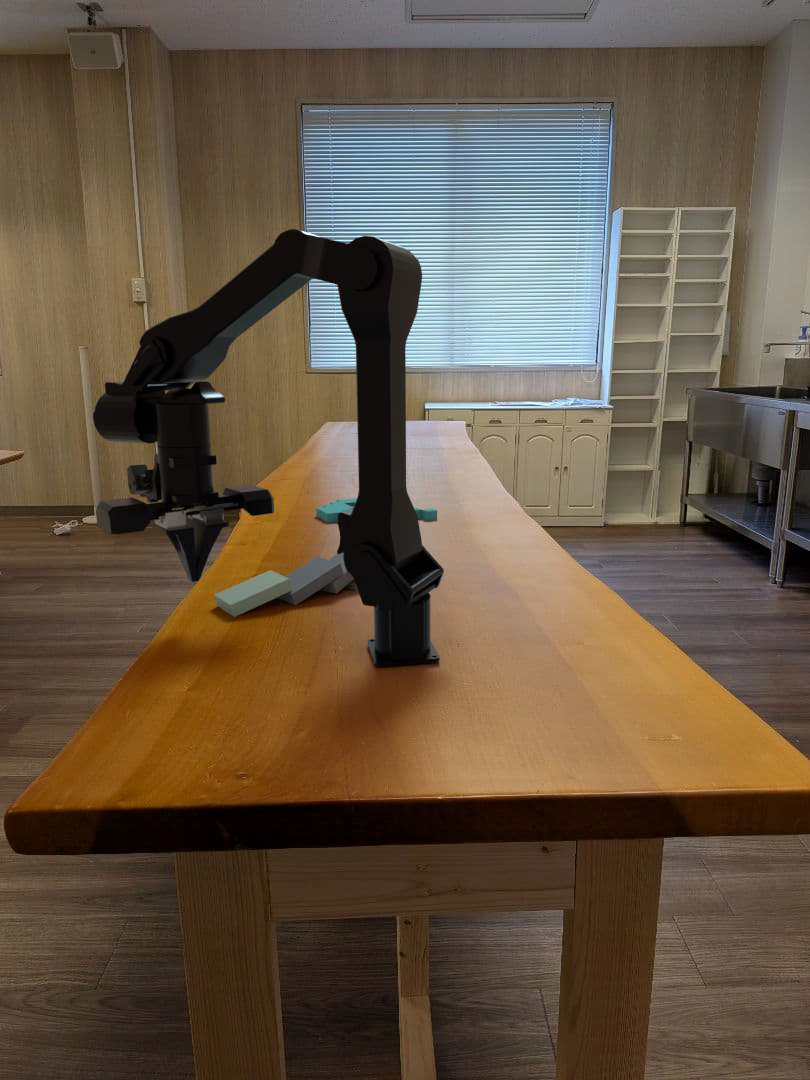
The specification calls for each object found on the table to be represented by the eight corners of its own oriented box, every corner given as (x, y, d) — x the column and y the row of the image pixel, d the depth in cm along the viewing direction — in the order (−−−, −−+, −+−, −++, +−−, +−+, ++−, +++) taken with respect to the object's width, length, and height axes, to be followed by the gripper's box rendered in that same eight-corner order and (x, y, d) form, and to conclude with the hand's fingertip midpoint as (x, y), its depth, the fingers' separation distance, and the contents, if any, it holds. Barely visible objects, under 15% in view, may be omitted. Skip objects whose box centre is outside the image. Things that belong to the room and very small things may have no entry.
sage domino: (217, 606, 90) (273, 581, 94) (234, 617, 86) (292, 590, 90) (213, 594, 89) (270, 570, 93) (230, 605, 85) (289, 578, 90)
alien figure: (394, 504, 158) (306, 512, 150) (394, 494, 158) (306, 502, 150) (437, 521, 141) (339, 531, 132) (437, 510, 140) (339, 519, 132)
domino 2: (333, 583, 93) (370, 552, 98) (305, 578, 96) (342, 548, 101) (336, 593, 94) (373, 562, 99) (308, 588, 97) (345, 558, 102)
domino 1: (291, 594, 89) (340, 563, 94) (269, 585, 93) (317, 556, 97) (295, 605, 90) (343, 574, 94) (273, 596, 94) (321, 566, 98)
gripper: (231, 435, 92) (238, 554, 96) (75, 445, 81) (90, 579, 85) (273, 442, 83) (279, 573, 87) (105, 454, 72) (119, 603, 76)
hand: (194, 580), depth 84 cm, fingers closed
